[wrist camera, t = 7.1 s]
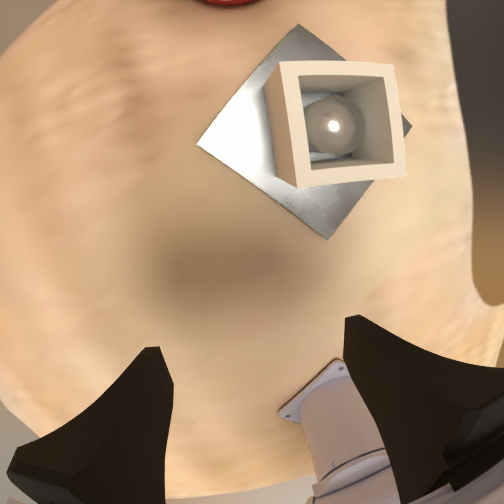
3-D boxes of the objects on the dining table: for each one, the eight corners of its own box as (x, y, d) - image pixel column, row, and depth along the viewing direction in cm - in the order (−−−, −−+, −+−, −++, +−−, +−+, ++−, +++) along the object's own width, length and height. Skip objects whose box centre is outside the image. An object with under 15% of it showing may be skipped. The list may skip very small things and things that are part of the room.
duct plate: (405, 126, 17) (444, 125, 13) (323, 236, 19) (348, 260, 15) (295, 28, 15) (314, 0, 11) (197, 144, 17) (190, 142, 13)
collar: (362, 167, 17) (406, 176, 13) (276, 177, 17) (297, 188, 12) (352, 81, 15) (393, 64, 11) (263, 85, 15) (279, 61, 10)
